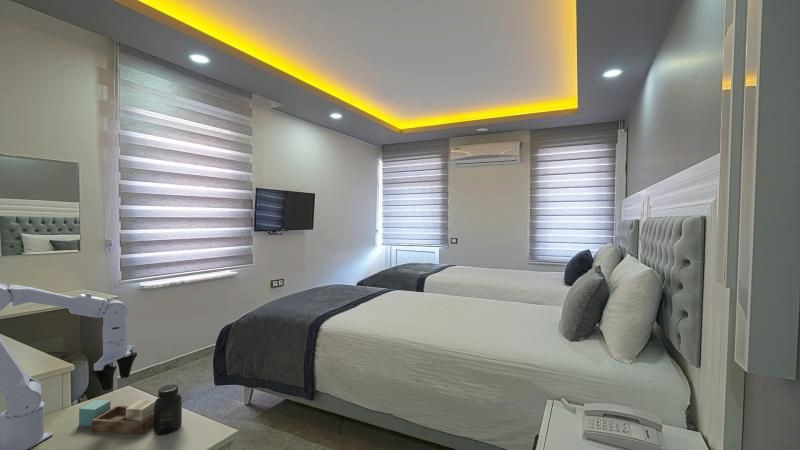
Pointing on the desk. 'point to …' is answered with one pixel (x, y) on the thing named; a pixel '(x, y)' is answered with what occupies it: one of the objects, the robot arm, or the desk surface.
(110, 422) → the walnut puzzle board
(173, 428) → the supplement bottle
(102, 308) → the robot arm
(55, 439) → the desk surface
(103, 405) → the teal block
